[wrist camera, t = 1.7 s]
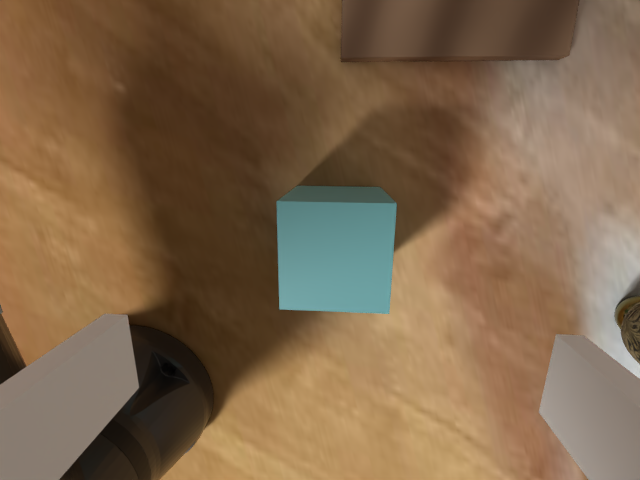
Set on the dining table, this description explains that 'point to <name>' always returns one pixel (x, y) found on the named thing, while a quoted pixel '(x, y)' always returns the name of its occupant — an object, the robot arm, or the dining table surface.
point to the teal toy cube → (335, 249)
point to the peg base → (456, 30)
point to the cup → (630, 324)
